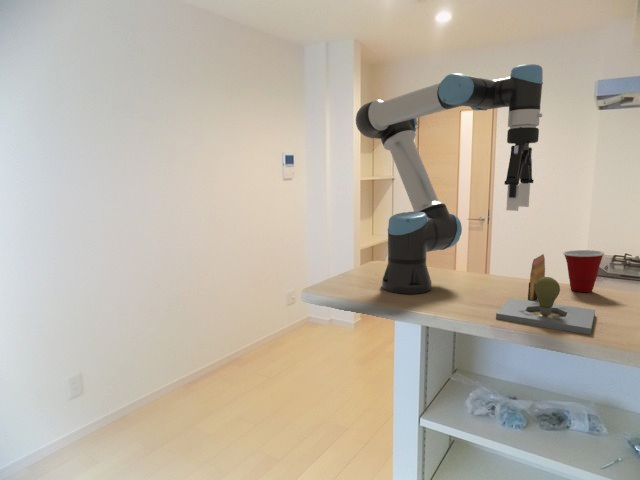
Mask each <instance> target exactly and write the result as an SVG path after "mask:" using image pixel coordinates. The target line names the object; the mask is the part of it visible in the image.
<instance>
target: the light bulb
mask: <svg viewBox="0 0 640 480" xmlns="http://www.w3.org/2000/svg"><path fill="white" fill-rule="evenodd" d="M560 291H561V286H560V283H559V282H558V281H557V280H556V279H555V278H553V277H550V276H545V277H543V278H541V279H539V280H538V281H537V282H536V284H535V293H536V295H537V297H538V299H537V300H538V302H539V304H540V313H541V314H542V315H543V316H544V317H547V316H549V315H550V314H551V307H552V306H553V304H555V301H556V299H557V298H558V296H559V295H560V293H561V292H560Z"/></svg>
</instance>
